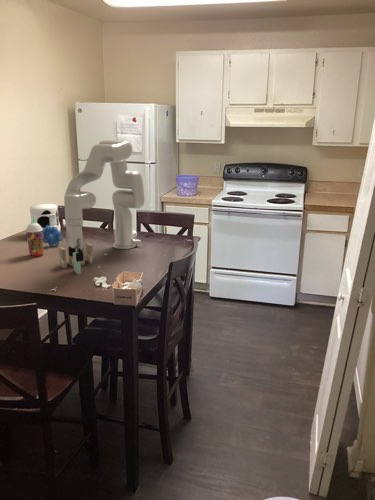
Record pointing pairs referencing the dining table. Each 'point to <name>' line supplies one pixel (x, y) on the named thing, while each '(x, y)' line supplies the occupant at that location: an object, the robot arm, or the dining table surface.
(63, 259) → the domino
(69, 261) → the domino
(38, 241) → the smoothie
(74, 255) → the domino
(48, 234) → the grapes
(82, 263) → the domino
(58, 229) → the milk container
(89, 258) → the domino
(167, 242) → the dining table surface
